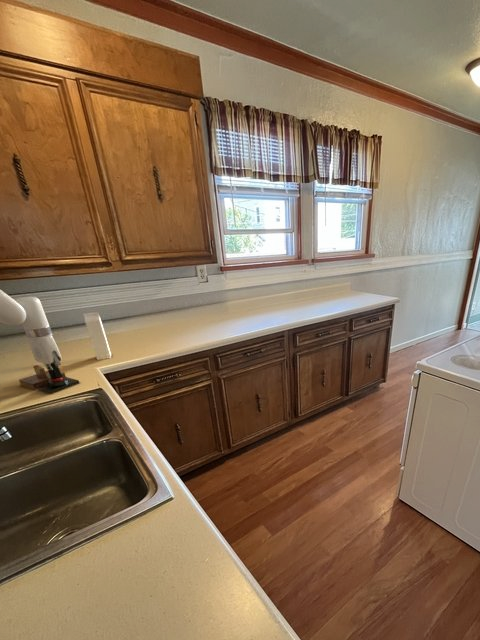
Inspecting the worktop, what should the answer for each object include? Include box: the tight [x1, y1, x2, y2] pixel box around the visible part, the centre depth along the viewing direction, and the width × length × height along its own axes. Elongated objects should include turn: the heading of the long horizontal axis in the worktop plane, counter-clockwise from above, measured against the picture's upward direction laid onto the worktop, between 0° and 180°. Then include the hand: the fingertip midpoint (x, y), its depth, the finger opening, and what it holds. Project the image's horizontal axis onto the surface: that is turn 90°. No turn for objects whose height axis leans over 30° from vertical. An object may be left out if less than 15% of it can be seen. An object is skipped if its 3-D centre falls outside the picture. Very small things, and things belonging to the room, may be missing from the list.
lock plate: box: [18, 370, 67, 391], centre depth 133 cm, size 12×10×3 cm
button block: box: [38, 375, 80, 395], centre depth 129 cm, size 11×8×4 cm
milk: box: [83, 311, 112, 361], centre depth 156 cm, size 6×6×22 cm
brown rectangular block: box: [32, 364, 47, 378], centre depth 131 cm, size 6×2×4 cm, turn 57°
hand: (57, 378), depth 128 cm, fingers closed
